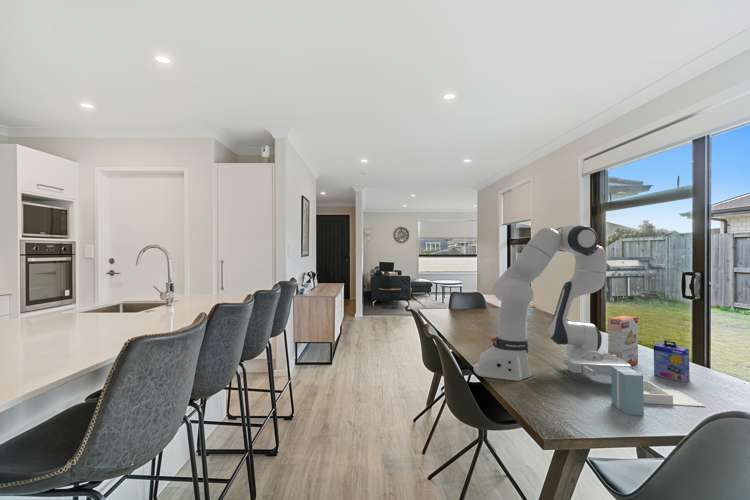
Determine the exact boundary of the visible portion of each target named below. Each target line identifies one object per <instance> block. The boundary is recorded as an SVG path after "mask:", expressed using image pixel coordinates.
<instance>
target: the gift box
mask: <svg viewBox="0 0 750 500" xmlns="http://www.w3.org/2000/svg"><path fill="white" fill-rule="evenodd" d="M610 376H611V404H613V406H615V407H616V408H617V409H618V410H619V411H621V412H622V413H623V414H624V415H628V416H644V415H645V409H644V408H645V407H644V406H645V405H644V404H645V403H644V396H643V381H644V375H643V374H641V373H639V372H638V371H636V370H634V369H633V368H632V369H631V368H629V367H617V366H611V375H610Z"/></svg>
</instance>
